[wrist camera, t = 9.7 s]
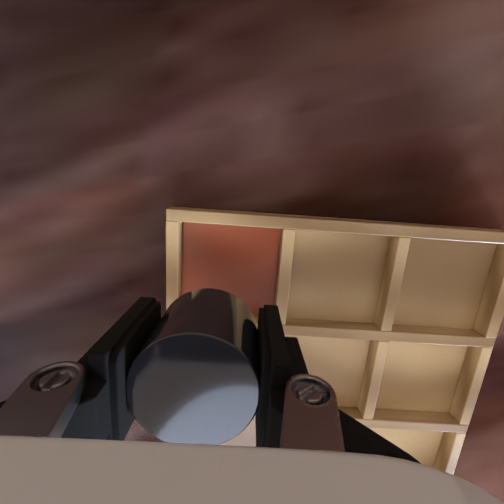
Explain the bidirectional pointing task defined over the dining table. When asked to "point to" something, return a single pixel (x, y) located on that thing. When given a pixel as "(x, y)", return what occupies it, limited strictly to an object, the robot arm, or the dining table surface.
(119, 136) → the dining table surface
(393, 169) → the dining table surface
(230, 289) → the board
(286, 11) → the dining table surface
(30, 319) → the dining table surface
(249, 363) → the metal cylinder
